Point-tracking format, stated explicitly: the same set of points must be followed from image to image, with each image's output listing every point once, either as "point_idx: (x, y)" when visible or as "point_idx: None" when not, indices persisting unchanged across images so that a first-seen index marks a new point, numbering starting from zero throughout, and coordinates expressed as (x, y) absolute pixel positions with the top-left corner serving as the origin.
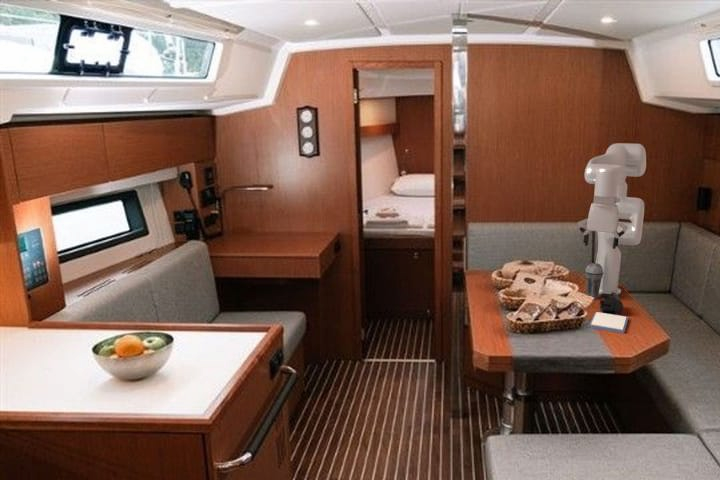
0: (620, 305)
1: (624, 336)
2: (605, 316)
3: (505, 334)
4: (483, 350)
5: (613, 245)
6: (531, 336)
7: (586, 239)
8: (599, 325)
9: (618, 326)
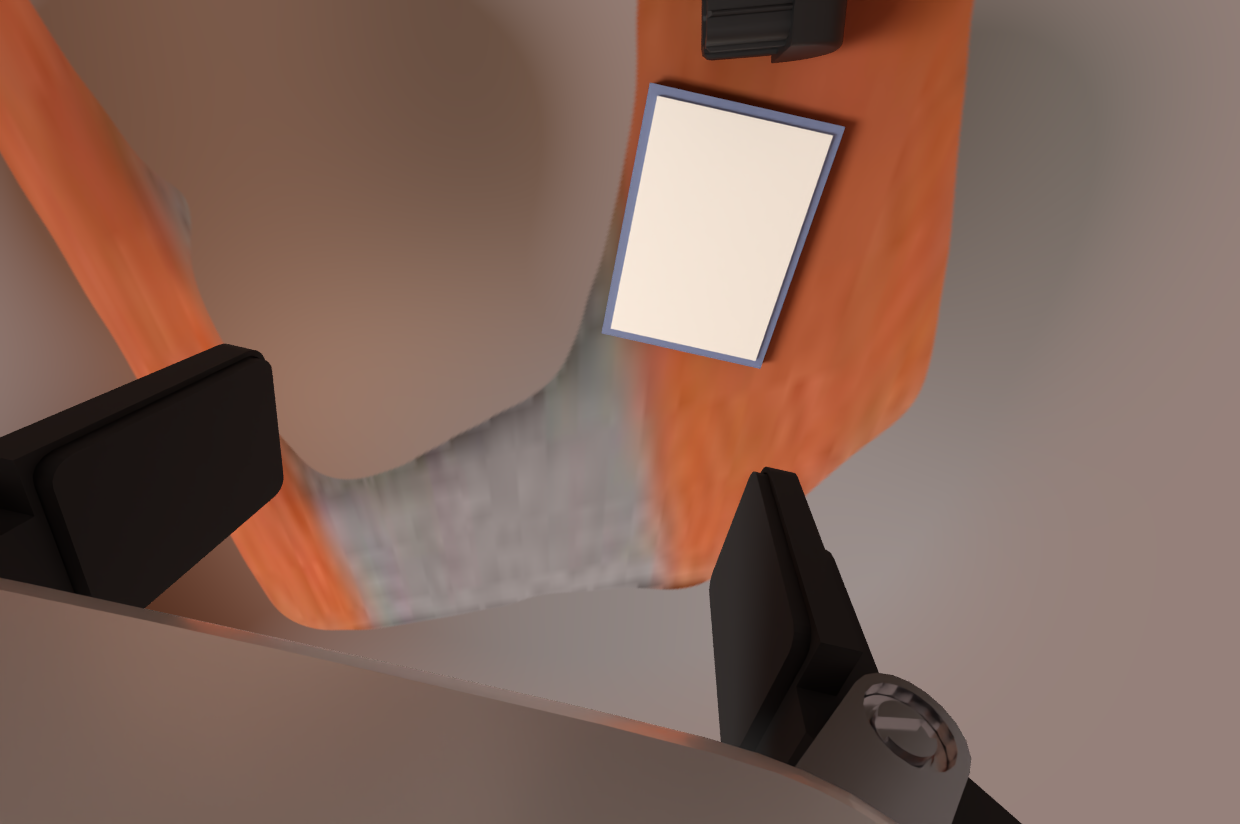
0: (821, 50)
1: (751, 399)
2: (700, 175)
3: (299, 489)
4: (288, 613)
5: (718, 632)
6: (388, 486)
7: (169, 572)
8: (649, 337)
9: (741, 329)
